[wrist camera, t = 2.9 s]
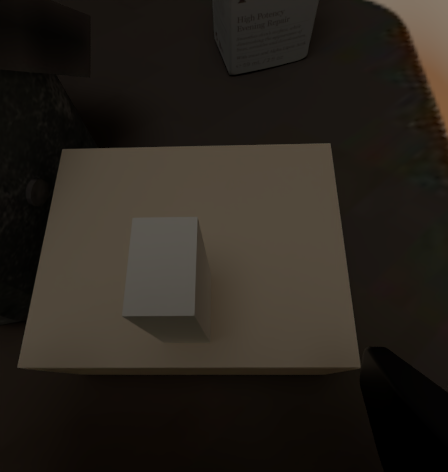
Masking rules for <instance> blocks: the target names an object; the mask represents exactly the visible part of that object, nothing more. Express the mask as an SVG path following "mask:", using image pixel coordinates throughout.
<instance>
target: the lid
mask: <svg viewBox="0 0 448 472" xmlns="http://www.w3.org/2000/svg"><path fill="white" fill-rule="evenodd" d="M360 367H361V366H360V358H359V351H358V344H357V336H356V329H355V322H354V314H353V307H352V299H351V292H350V285H349V277H348V270H347V263H346V255H345V248H344V240H343V233H342V226H341V218H340V211H339V204H338V196H337V189H336V181H335V174H334V167H333V159H332V152H331V145H330V143H327V144H279V145H232V146H185V147H137V148H90V149H62V154H61V158H60V163H59V168H58V173H57V178H56V183H55V187H54V192H53V197H52V202H51V207H50V212H49V216H48V221H47V226H46V231H45V236H44V241H43V245H42V250H41V255H40V260H39V265H38V270H37V274H36V279H35V284H34V289H33V294H32V299H31V304H30V308H29V313H28V318H27V323H26V328H25V333H24V337H23V342H22V347H21V352H20V357H19V362H18V366H17V368H25V369H198V368H360Z"/></svg>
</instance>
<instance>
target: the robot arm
mask: <svg viewBox="0 0 448 472" xmlns="http://www.w3.org/2000/svg"><path fill="white" fill-rule="evenodd" d="M360 386H361V391H362V394H363V398H364V402H365V406H366V410H367V413H368V417H369V421H370V425H371V428H372V432H373V436H374V440H375V444H376V447H377V451H378V454H379V458H380V461H381V464H382V467H383V469H384V472H448V392H446V391H445V390H444V389H442V388H441V387H440V386H438V385H437V384H435V383H434V382H433V381H431V380H430V379H429V378H427V377H426V376H424V375H423V374H422V373H420V372H419V371H418V370H416V369H415V368H413V367H412V366H411V365H409V364H408V363H407V362H405V361H404V360H402V359H401V358H400V357H398V356H397V355H396V354H394V353H393V352H391V351H390V350H389V349H387V348H385V347H367V348H365V350H364V353H363V359H362V365H361V372H360Z"/></svg>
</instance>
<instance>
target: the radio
mask: <svg viewBox="0 0 448 472" xmlns="http://www.w3.org/2000/svg"><path fill="white" fill-rule="evenodd" d="M56 74H57V75H68V76H79V77H90V16H89V15H87V14H84V13H82V12H79V11H77V10H74V9H71V8H69V7H66V6H64V5H61V4H59V3H56V2H53V1H51V0H0V325H2V324H8V323H14V322H20V321H24V320H27V318H28V313H29V308H30V304H31V299H32V294H33V289H34V284H35V279H36V274H37V270H38V265H39V260H40V255H41V250H42V245H43V241H44V236H45V231H46V226H47V221H48V216H49V212H50V207H51V202H52V197H53V192H54V187H55V183H56V178H57V173H58V168H59V163H60V158H61V154H62V149H90V148H97V145H96V143H95V141H94V140H93V138H92V136H91V134H90V133H89V131H88V129H87V127H86V126H85V124H84V122H83V121H82V119H81V117H80V115H79V114H78V112H77V110H76V108H75V107H74V105H73V103H72V102H71V100H70V98H69V96H68V95H67V93H66V91H65V89H64V88H63V86H62V84H61V83H60V81H59V79H58V77H57V76H56Z"/></svg>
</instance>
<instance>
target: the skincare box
mask: <svg viewBox="0 0 448 472" xmlns="http://www.w3.org/2000/svg"><path fill="white" fill-rule="evenodd" d="M212 2H213V20H214V38H215V41H216V43H217V46H218V48H219V51H220V53H221V55H222V58H223V60H224V63H225V65H226V68H227V70H228V73H229V74H230V75H236V74H241V73H246V72H251V71H256V70H261V69H265V68H270V67H274V66H278V65H282V64H286V63H290V62H294V61H298V60H301V59H303V58H304V57H306V56H307V53H308V49H309V44H310V39H311V34H312V30H313V25H314V20H315V16H316V11H317V6H318V2H319V0H212Z"/></svg>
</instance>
